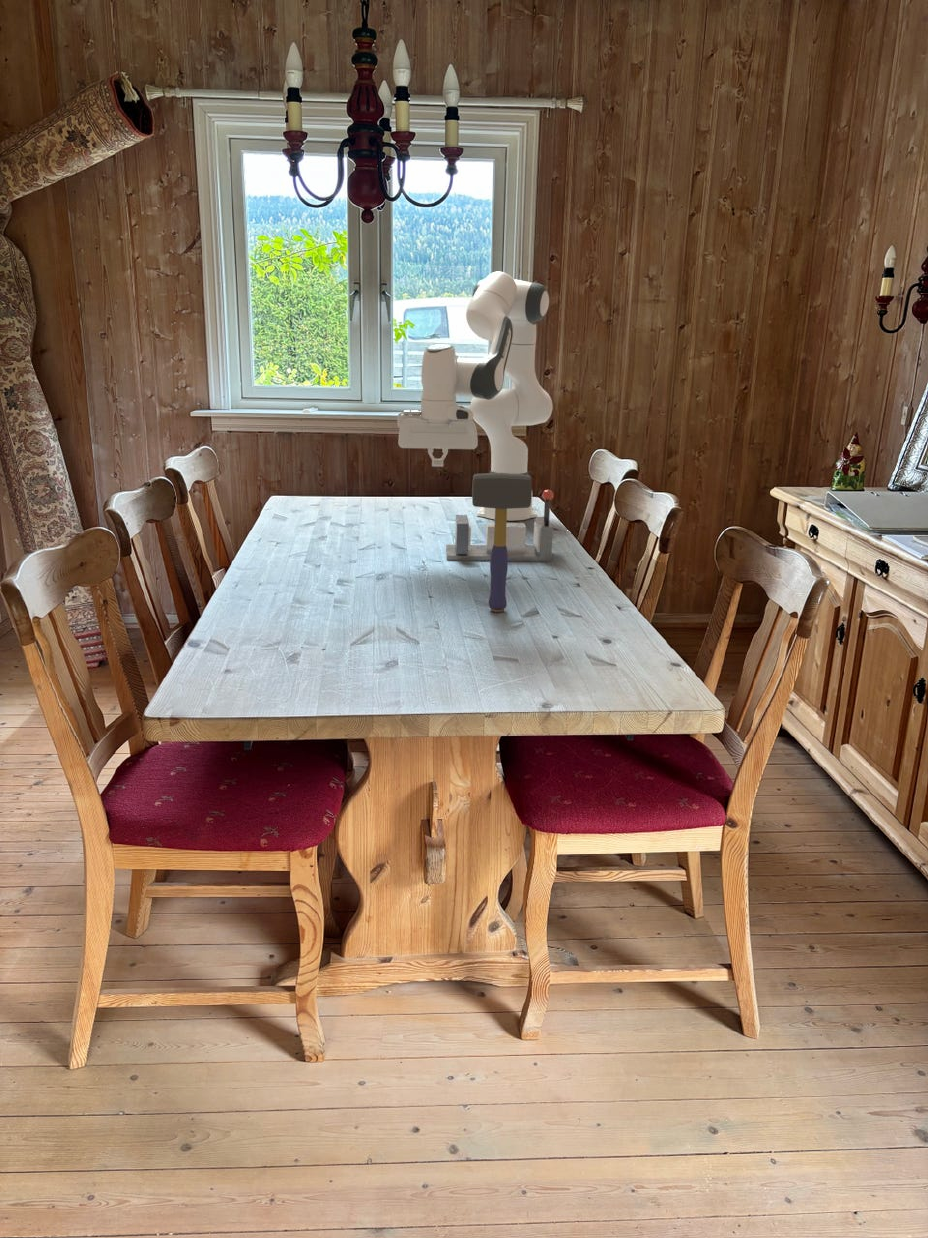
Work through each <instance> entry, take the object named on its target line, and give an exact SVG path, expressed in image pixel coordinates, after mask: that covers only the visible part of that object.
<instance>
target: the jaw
mask: <svg viewBox="0 0 928 1238" xmlns="http://www.w3.org/2000/svg"><path fill="white" fill-rule="evenodd" d="M454 528H455V529H454V530H455V537H454V539H455V540H454V545H455V547H456V554H468V550H470V545H471V544H472V543H471V538H472V536H471V535H472V534H471V533H472V527H471V522H470V518H468V515H467V514H455V527H454Z"/></svg>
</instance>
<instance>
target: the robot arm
mask: <svg viewBox="0 0 928 1238" xmlns="http://www.w3.org/2000/svg"><path fill="white" fill-rule="evenodd" d="M549 305H550V295H549V291H548V289H547V287H546V286H545V285H544V284H541V283H538V282H535V281H533V282H530V281H525V280H521V279H516V278H515V279H514V278H513V277H512V276H511V275H510V274H508V273H507V272H504V271H494V272H491V273H489V274H488V275H487V276H486V277H485V278H483V279H480V280H479V281H478V282H476V284H475V285H474V288H473V291H472V296H471V299H470V301H469V303H468V306H467V308H466V313H465V317H466V321H467V324H468V327H469V328H470V330H471V331H472V332H473V333H474V335H477V337H479V338H481V339H483V340H486V341H489V342H491V344H490V346H489V347H490V348H489V351H488V354H487V356H484V357H480V358H479V357H477V358H474V357H472V358H471V357H462V356H461V357H459V356H458V355H457V354H456V349H455V347H454V345H451V344H450V343H449V344H448V343H437V344H436V343H435V344H431V345H428V346H427V347H425V349H424V351H423V356H422V363H421V372H420V374H421V375H420V376H421V379H420V381H421V385H422V393H421V396H420V410H403V411H402V412H399V413H398V415H397V417H396V424H397V427H398V428H399V431H398V443H397V444H398V446H399V448H401V449H427V454H428V455H429V457H430V459H431V467H444V460H445V459H446V457H447V455H448V453H449V450H452V449H453V450H475V449H476V448H477V447H478V442H479V441H478V439H479V438H478V429H477V426H476V424H478V425H479V426H480V427H481V428H482V429H483V431H484V432H485V433H486V436H487V438H488V440H489V444H490V453H491V457H490V458H491V459H490V460H491V462H490V463H491V464H490V469H491V470H490V471H489V473H511V474H523V475H529V472H528V459H529V456H528V455H529V448H528V445H527V444H526V443H525V442H524V441H523V440H522V439H520V438H519V437H516V436H514V434H513V431H512V427H514V426H515V427H516V426H534V425H535V426H536V425H539V424H542V423H543V424H544V423H546V422H548V420H549V419H550V417H551V415H552V412H553V407H554V406H553V401H552V398H551V396H550V394H549V393H548V392H547V391H546V390H545V389H544V388H543V387H542V386H541V385H540V383H539V380H538V379H537V378H538V377H537V374H536V370H535V369H536V368H535V367H536V365H535V363H536V362H535V360H536V346H537V345H536V343H537V323H538V322H540V321H542V320H543V319H544V318H545V317H546V315H547V314H548V313H547V312H548V309H549V307H550V306H549ZM505 376H506V377H507V378H509V379H511V382H512V387H511V388H503V387H504V380H505ZM457 397H464V398H465V397H466V398H467V397H468V398H471V401H470V405H469V408H467V407H464V406H463V405H458V404H457ZM434 449H441V450H442V453H443V454H442V455H441V457H440V458H435V456H434V455H433V453H434ZM476 515H477V517H483V518H486V519H490V520H491V519H492V520H495V508H485V507H480V509H479V510H478V511H477V513H476ZM536 517H539V516H538V513H537V512H535V511H534V510H533V496H532V497H531V505H530V507H528V508H511V509H507V522H508V521H510V522H511V521H512V522H513V521H524V520H528V519H532V518H536Z"/></svg>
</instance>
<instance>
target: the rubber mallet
mask: <svg viewBox="0 0 928 1238" xmlns="http://www.w3.org/2000/svg"><path fill="white" fill-rule="evenodd" d="M532 482H533V481H532V476H531V475H530V474H528V475H523V474H511V473H490V472H487V473H486V472H485V473H474V475H473V476H472V485H471V486H472V487H471V498H472V499H471V500H472V501H471V502H472V503H471V504H472V505H473V507H476V508H477V507H478V508H481V507H485V508H495V519H494V523H495V528H494V545H493V547H492V552H491V561H489V568H490V569H489V570H490V572H489V573H490V594H489V598H488V607H489V609H490V611H492V612H495V613H499V612H501V613H502V612H504V611H505V610H506V607H507V602H508V601H507V597H506V596H507V595H506V588H507V587H506V586H507V583H506V582H507V574H508V566H509V561H508V554H507V547H506V523H508V521H507V509H511V508H528V507H530V505H531V497H532V498H533V487H532V486H533V483H532Z"/></svg>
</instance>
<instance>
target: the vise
mask: <svg viewBox="0 0 928 1238" xmlns="http://www.w3.org/2000/svg"><path fill="white" fill-rule="evenodd" d="M541 496H542V499H544V506H543V507H544V510H543V516H538V517H535V521H533V541H532V543H533V545H525V553H507V554H508V562H539V561H543V562H545V561H548V563H550V562H552V554H553V553H552V552H553V537H554V536H553V533H554V532H553V531H554V526H553V524H552V523H551V520H550V516H551V515H550V512H551V500H552V499H553V498H554V492H553V491H552V490H551V489H545V490H544V491H543V492H542V494H541ZM445 551H446V553H445V554H446V560H447V561H472V562H473V561H478V562H479V561H480V562H481V561H482V562H484V561H487V562H490V561H491V553H487V551H486V544H470V550H468V554H456V547H455V544H445ZM545 563H546V562H545Z"/></svg>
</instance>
